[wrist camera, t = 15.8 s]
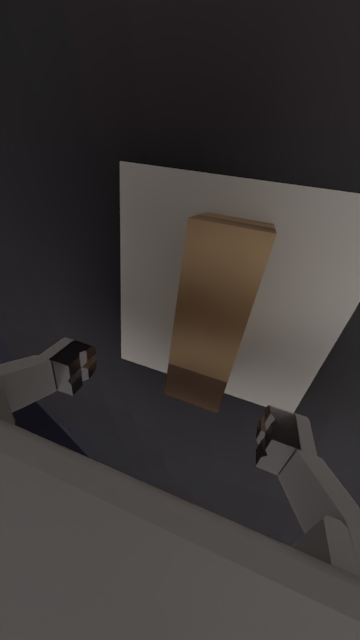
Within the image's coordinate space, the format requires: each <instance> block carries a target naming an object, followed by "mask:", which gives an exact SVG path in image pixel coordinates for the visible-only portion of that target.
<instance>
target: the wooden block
mask: <svg viewBox="0 0 360 640" xmlns="http://www.w3.org/2000/svg"><path fill="white" fill-rule="evenodd" d="M276 235H277V233H276V229H275V226H274V224H272V223H267V222H261V221H255V220H249V219H244V218H238V217H232V216H226V215H221V214H215V213H209V212H205V213H202V214H198V215H195V216H192V217H188V221H187V228H186V236H185V243H184V251H183V258H182V266H181V273H180V281H179V288H178V295H177V303H176V310H175V318H174V325H173V333H172V340H171V348H170V355H169V362H168V370H167V377H166V385H165V392H164V394H166V395H169V396H171V397H174V398H177V399H180V400H182V401H185V402H188V403H191V404H194V405H196V406H199V407H202V408H205V409H207V410H210V411H213V412H216V413H218V410H219V407H220V404H221V401H222V398H223V395H224V392H225V389H226V386H227V383H228V380H229V377H230V374H231V371H232V368H233V364H234V361H235V358H236V355H237V352H238V349H239V346H240V343H241V340H242V337H243V334H244V331H245V328H246V325H247V322H248V319H249V316H250V313H251V310H252V307H253V304H254V301H255V298H256V295H257V292H258V289H259V286H260V283H261V280H262V277H263V274H264V271H265V268H266V265H267V262H268V259H269V256H270V253H271V250H272V247H273V244H274V241H275V238H276Z"/></svg>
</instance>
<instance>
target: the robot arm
mask: <svg viewBox="0 0 360 640" xmlns="http://www.w3.org/2000/svg"><path fill="white" fill-rule="evenodd" d="M95 354H96V351H95V348H94V347H93V346H90V345H87V344H85V343H82V342H79V341H76V340H73V339H70V338H68V337H66V338H63V339H61V340H60V341H58V342H57V343H56V344H54V345H53V346H51V347H50V348H49V349H47V350H46V351H44V352H43V353H42V354H40V355H39V356H37V355H34V356H30V357H26V358H22V359H19V360H15V361H11V362H7V363H4V364H0V640H360V508H359V506H358V505H357V504H356V503H355V501H354V500H353V499H352V497H351V496H350V495H349V493H348V492H347V491H346V489H345V488H344V487H343V486H342V484H341V483H340V482H339V480H338V479H337V478H336V476H335V475H334V474H333V472H332V471H331V470H330V469H329V467H328V466H327V465H326V463H325V462H324V461H323V459H322V458H320V457H317V452H316V448H315V443H314V439H313V434H312V430H311V425H310V421H309V419H308V417H305V416H302V415H299V414H296V413H293V412H290V411H286V410H283V409H280V408H277V407H274V406H271V405H268V406H267V407H266V409H265V416H264V417H261V419H260V421H259V424H258V427H257V433H256V440H257V442H258V444H259V446H258V447H257V449H256V467H258V468H261V469H263V470H265V471H268V472H270V473H273V474H275V475H277V476H278V479H279V481H280V483H281V485H282V487H283V489H284V491H285V493H286V496H287V498H288V500H289V502H290V504H291V506H292V508H293V510H294V512H295V515H296V517H297V519H298V521H299V523H300V525H301V527H302V529H303V531H304V535H303V536H302V537H301V538H299V539H298V540H297V541H296V542H295V543H294V544H292V545H291V546H292V547H290V546H288V545H285V544H283V543H281V542H278V541H276V540H274V539H272V538H269V537H267V536H265V535H263V534H260V533H258V532H256V531H253V530H251V529H249V528H247V527H244V526H242V525H240V524H238V523H235V522H233V521H231V520H228V519H226V518H224V517H222V516H219V515H217V514H215V513H213V512H210V511H208V510H206V509H204V508H201V507H199V506H197V505H194V504H192V503H190V502H188V501H185V500H183V499H181V498H179V497H176V496H174V495H172V494H170V493H167V492H165V491H163V490H160V489H158V488H156V487H154V486H151V485H149V484H147V483H145V482H142V481H140V480H138V479H136V478H133V477H131V476H129V475H126V474H124V473H122V472H120V471H117V470H115V469H113V468H111V467H108V466H106V465H104V464H101V463H99V462H97V461H95V460H92V459H90V458H88V457H85V456H83V455H81V454H79V453H76V452H74V451H72V450H70V449H67V448H65V447H63V446H61V445H58V444H56V443H54V442H51V441H49V440H47V439H44V438H42V437H40V436H38V435H36V434H33V433H30V432H29V431H26V430H24V429H22V428H20V427H17V426H15V425H14V424H15V420H14V417H13V415H12V412H14V411H16V410H18V409H20V408H23V407H25V406H27V405H29V404H31V403H33V402H35V401H37V400H39V399H41V398H43V397H46V396H48V395H50V394H52V393H54V392H56V391H57V390H58V391H61V392H64V393H67V394H69V395H72V396H73V395H74V394H75V393H76V392H77V391H78V390H79V389H80V388H81V387H82V386H83V381H85V380H87V379H89V378H90V377H91V376H92V375H93V373H94V371H95V369H96V359H95V358H94V355H95Z"/></svg>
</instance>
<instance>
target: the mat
mask: <svg viewBox="0 0 360 640" xmlns="http://www.w3.org/2000/svg"><path fill="white" fill-rule="evenodd" d="M205 212H209V213H215V214H221V215H226V216H232V217H238V218H244V219H249V220H255V221H261V222H267V223H272V224H274V226H275V229H276V233H277V235H276V238H275V241H274V244H273V247H272V250H271V253H270V256H269V259H268V262H267V265H266V268H265V271H264V274H263V277H262V280H261V283H260V286H259V289H258V292H257V295H256V298H255V301H254V304H253V307H252V310H251V313H250V316H249V319H248V322H247V325H246V328H245V331H244V334H243V337H242V340H241V343H240V346H239V349H238V352H237V355H236V358H235V361H234V364H233V368H232V371H231V374H230V377H229V380H228V383H227V386H226V389H225V392H224V393H226V394H229V395H232V396H235V397H238V398H241V399H244V400H247V401H250V402H253V403H256V404H259V405H262V406H265V407H267V406H268V405H271V406H274V407H277V408H280V409H283V410H286V411H290V412H293V413H294V411H295V409H296V408H297V406H298V404H299V403H300V401H301V399H302V398H303V396H304V394H305V393H306V391H307V389H308V388H309V386H310V384H311V383H312V381H313V379H314V378H315V376H316V374H317V373H318V371H319V369H320V368H321V366H322V364H323V363H324V361H325V359H326V357H327V356H328V354H329V352H330V351H331V349H332V347H333V346H334V344H335V342H336V341H337V339H338V337H339V336H340V334H341V332H342V331H343V329H344V327H345V326H346V324H347V322H348V321H349V319H350V317H351V316H352V314H353V312H354V311H355V309H356V307H357V305H358V304H359V302H360V194H359V193H351V192H344V191H337V190H329V189H322V188H315V187H307V186H300V185H293V184H285V183H278V182H271V181H263V180H256V179H249V178H241V177H234V176H226V175H219V174H212V173H204V172H197V171H190V170H182V169H175V168H168V167H160V166H153V165H146V164H138V163H131V162H123V161H120V262H121V358H123V359H125V360H128V361H131V362H134V363H137V364H140V365H143V366H146V367H149V368H152V369H155V370H158V371H161V372H164V373H167V370H168V362H169V355H170V348H171V340H172V333H173V325H174V318H175V310H176V303H177V295H178V288H179V281H180V273H181V266H182V258H183V251H184V243H185V236H186V228H187V221H188V217H192V216H195V215H198V214H202V213H205Z"/></svg>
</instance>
